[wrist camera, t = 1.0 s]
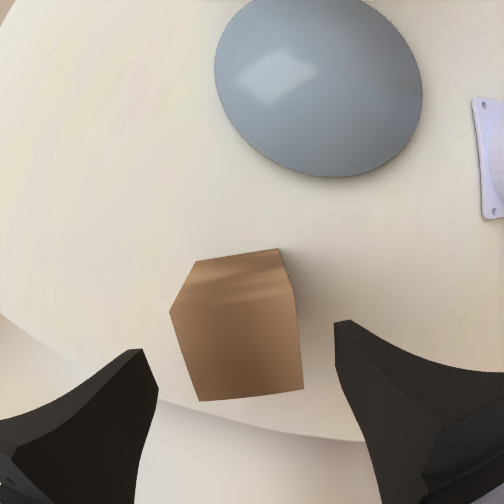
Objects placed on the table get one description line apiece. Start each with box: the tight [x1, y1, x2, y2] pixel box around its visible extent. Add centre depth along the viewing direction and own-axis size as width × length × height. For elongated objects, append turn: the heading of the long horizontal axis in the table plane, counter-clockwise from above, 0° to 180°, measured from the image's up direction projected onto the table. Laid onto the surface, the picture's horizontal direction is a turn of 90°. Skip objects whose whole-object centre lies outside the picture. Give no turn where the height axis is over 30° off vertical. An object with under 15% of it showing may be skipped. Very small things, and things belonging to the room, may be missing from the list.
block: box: [169, 248, 304, 401], centre depth 14 cm, size 4×4×6 cm
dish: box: [214, 0, 422, 177], centre depth 13 cm, size 11×11×1 cm
